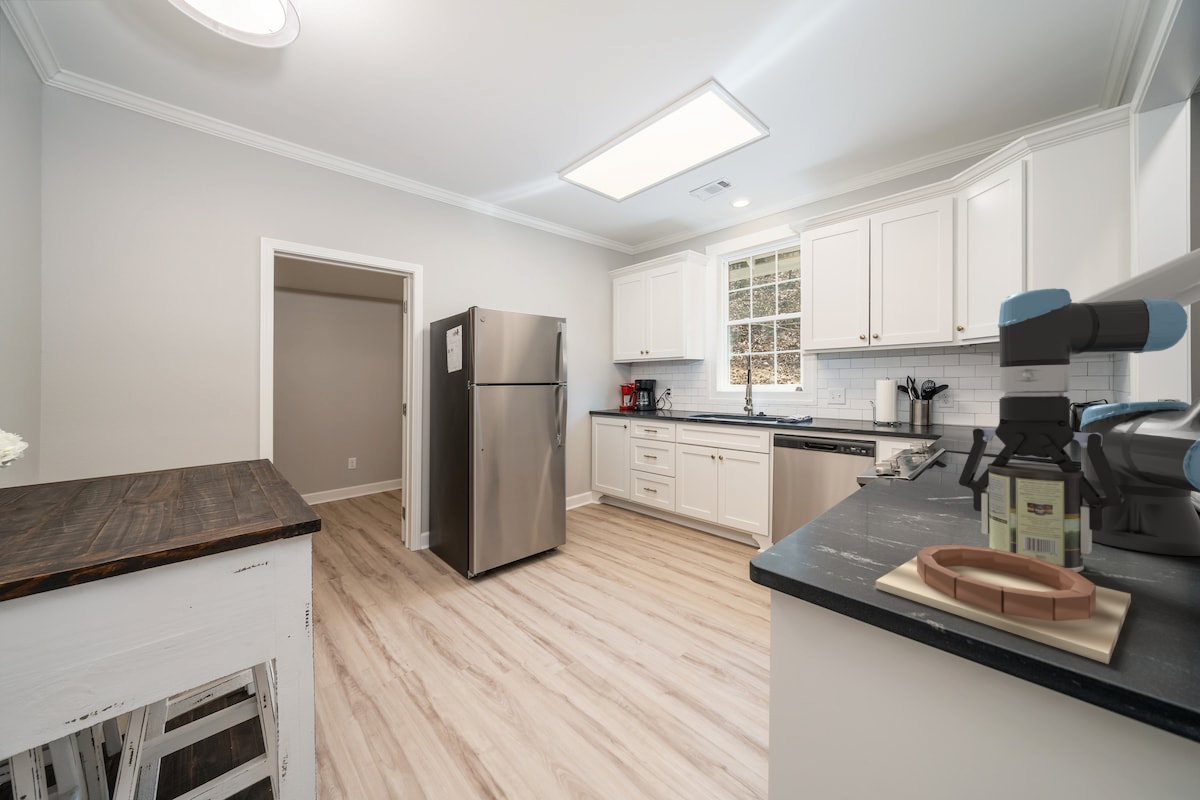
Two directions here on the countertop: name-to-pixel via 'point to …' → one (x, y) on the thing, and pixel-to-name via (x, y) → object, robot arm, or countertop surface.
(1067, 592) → the ring holder
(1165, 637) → the countertop surface
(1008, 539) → the coffee can
